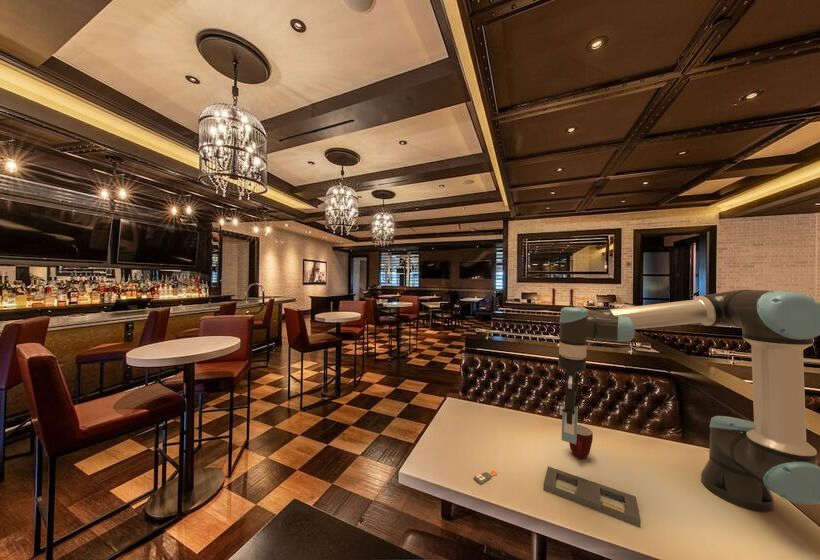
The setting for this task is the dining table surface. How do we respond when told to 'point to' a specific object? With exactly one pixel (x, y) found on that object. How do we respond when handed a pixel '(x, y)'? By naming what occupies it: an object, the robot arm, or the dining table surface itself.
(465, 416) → the dining table surface
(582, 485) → the panel
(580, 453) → the mug
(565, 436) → the plug
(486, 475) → the key chain
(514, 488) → the dining table surface
